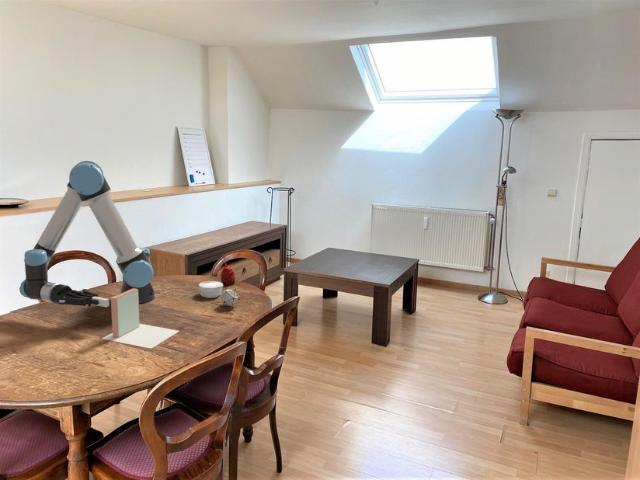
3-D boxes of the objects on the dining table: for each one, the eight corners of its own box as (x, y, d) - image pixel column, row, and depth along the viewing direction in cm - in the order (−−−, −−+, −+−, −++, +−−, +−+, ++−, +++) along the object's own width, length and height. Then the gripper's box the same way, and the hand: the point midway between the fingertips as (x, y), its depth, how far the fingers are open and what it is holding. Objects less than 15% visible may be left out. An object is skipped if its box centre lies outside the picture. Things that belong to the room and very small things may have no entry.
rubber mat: (101, 340, 176) (101, 338, 176) (132, 323, 192) (132, 322, 192) (151, 350, 170) (151, 348, 170) (179, 332, 186) (179, 330, 186)
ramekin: (212, 289, 238) (212, 279, 237) (228, 295, 231) (228, 284, 230) (193, 294, 230) (193, 284, 228) (208, 300, 223) (208, 289, 222)
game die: (233, 313, 218) (247, 295, 218) (224, 312, 210) (238, 294, 210) (220, 300, 222) (233, 283, 221) (210, 299, 214) (224, 281, 213)
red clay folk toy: (230, 286, 244) (230, 257, 241) (217, 284, 246) (217, 255, 243) (237, 282, 251) (237, 253, 248) (225, 280, 253) (225, 252, 250)
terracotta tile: (118, 338, 177) (116, 298, 174) (112, 337, 178) (110, 297, 175) (139, 326, 188) (138, 289, 185) (134, 325, 189) (133, 288, 186)
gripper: (70, 298, 197) (119, 307, 190) (43, 307, 184) (94, 318, 178) (70, 280, 195) (119, 288, 188) (42, 288, 183) (94, 298, 176)
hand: (107, 303), depth 183 cm, fingers closed
